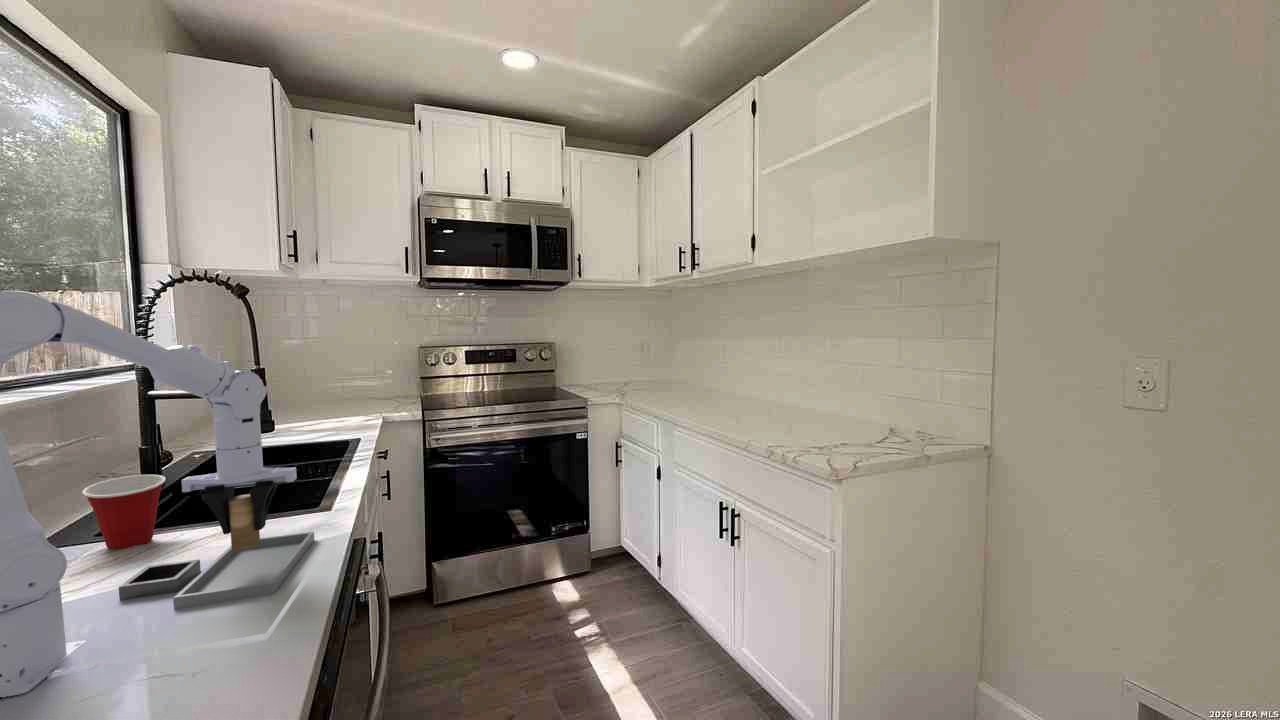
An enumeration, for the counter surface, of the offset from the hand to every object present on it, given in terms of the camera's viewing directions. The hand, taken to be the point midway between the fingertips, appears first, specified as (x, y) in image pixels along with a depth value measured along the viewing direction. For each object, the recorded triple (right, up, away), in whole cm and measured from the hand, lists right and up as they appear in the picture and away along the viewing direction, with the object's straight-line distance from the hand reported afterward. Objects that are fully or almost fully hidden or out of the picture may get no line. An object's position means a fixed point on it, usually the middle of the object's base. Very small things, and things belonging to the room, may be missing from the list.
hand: (244, 529), depth 81 cm
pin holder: (-10, -8, -3) cm, 13 cm away
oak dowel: (0, -3, 0) cm, 3 cm away
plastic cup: (-32, -8, +13) cm, 35 cm away
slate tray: (0, -8, +2) cm, 8 cm away
